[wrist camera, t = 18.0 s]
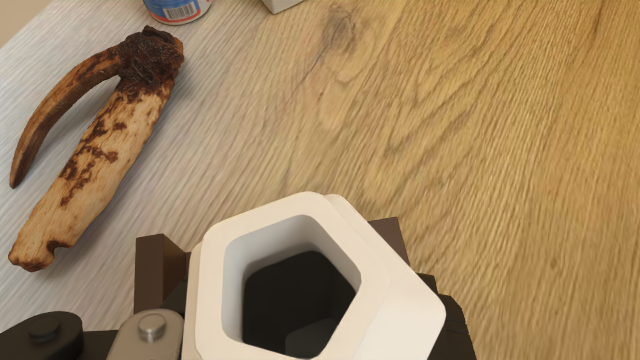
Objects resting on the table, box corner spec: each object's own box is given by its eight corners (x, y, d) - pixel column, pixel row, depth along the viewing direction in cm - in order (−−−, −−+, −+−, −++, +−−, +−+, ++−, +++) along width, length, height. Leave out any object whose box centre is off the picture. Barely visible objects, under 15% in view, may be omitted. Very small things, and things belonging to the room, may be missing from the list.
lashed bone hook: (112, 43, 33) (-40, 249, 25) (79, -8, 29) (-117, 220, 21) (217, 64, 31) (89, 293, 23) (198, 13, 27) (34, 270, 19)
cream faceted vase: (246, 355, 18) (-7, 261, 5) (322, 290, 19) (300, 65, 6) (311, 451, 16) (215, 749, 3) (391, 373, 17) (585, 330, 4)
